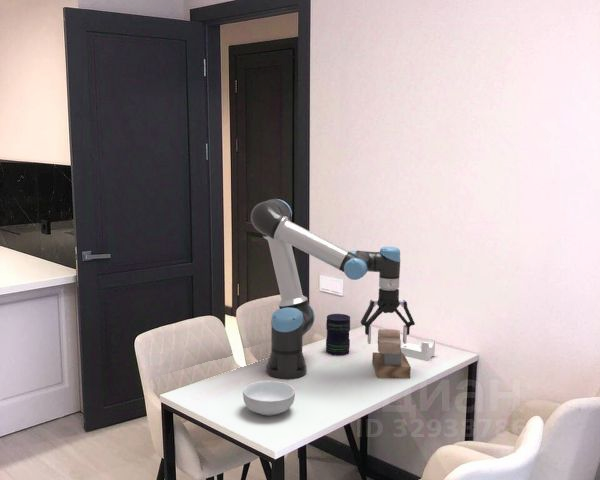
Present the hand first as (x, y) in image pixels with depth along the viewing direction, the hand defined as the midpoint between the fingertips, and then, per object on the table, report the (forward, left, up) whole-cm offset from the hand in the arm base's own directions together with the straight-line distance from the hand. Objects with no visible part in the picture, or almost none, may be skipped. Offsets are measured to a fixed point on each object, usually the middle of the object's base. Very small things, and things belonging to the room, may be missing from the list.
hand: (386, 343), depth 249 cm
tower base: (+2, 0, -12) cm, 12 cm away
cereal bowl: (-45, -36, -11) cm, 59 cm away
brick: (+1, 0, -2) cm, 2 cm away
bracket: (+16, +17, -11) cm, 26 cm away
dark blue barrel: (-16, +22, -11) cm, 29 cm away
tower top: (+2, 0, -7) cm, 7 cm away
